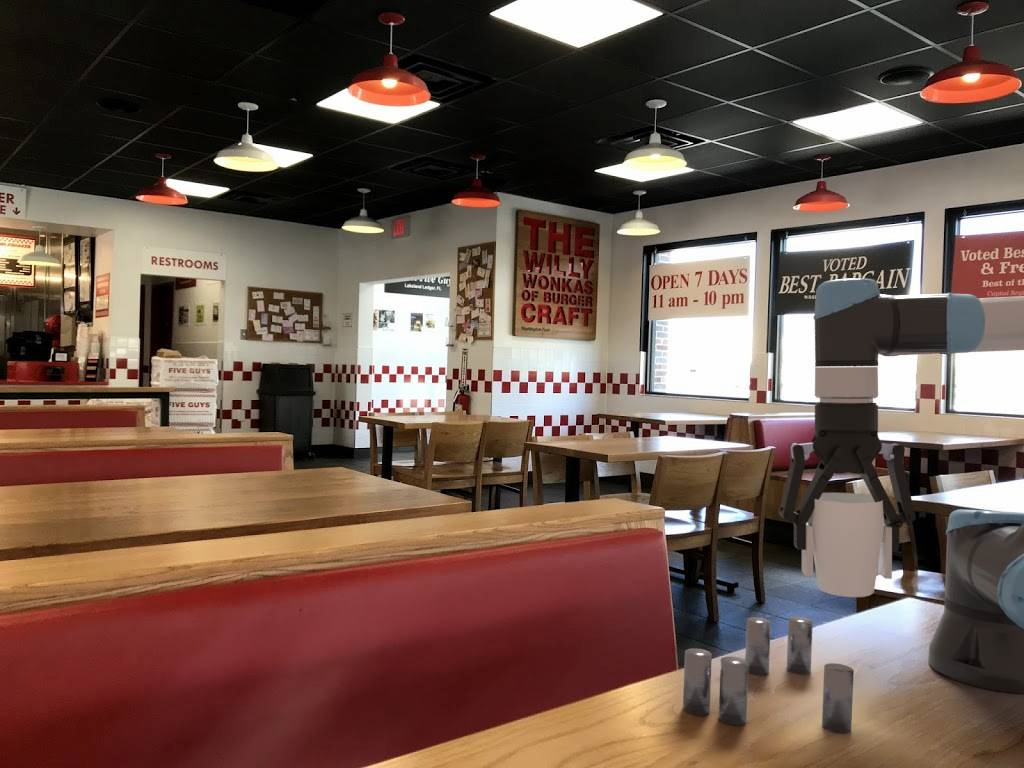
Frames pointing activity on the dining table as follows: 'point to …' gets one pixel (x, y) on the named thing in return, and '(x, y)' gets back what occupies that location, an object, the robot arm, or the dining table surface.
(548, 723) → the dining table surface
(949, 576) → the robot arm
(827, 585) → the cup
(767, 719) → the dining table surface
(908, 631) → the dining table surface
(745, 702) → the posts
